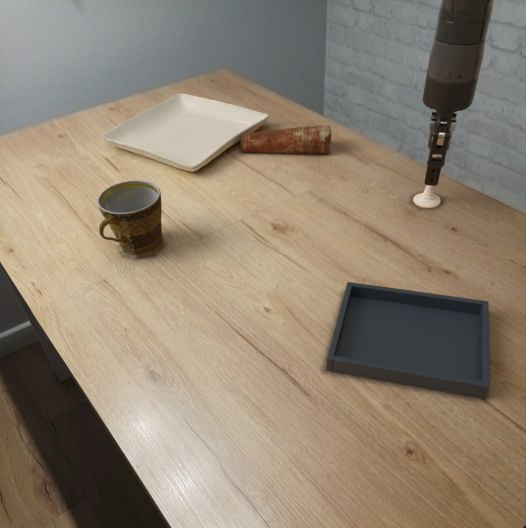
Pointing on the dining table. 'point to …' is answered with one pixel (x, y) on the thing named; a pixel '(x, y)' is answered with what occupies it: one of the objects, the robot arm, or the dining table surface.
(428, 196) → the chess piece
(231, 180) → the dining table surface
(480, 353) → the tray
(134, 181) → the ceramic cup
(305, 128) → the rusty brown tapered cylinder
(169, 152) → the square plate
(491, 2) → the robot arm
